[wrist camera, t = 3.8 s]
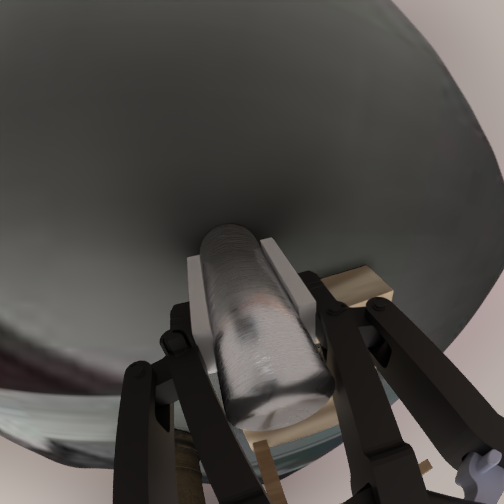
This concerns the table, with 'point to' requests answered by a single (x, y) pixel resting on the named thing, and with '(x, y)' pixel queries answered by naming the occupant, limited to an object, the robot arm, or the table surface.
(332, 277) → the socket station
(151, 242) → the table surface
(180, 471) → the container
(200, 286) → the robot arm
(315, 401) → the peg
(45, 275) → the table surface
